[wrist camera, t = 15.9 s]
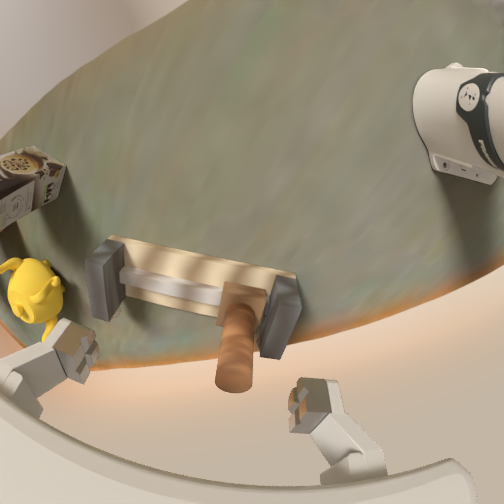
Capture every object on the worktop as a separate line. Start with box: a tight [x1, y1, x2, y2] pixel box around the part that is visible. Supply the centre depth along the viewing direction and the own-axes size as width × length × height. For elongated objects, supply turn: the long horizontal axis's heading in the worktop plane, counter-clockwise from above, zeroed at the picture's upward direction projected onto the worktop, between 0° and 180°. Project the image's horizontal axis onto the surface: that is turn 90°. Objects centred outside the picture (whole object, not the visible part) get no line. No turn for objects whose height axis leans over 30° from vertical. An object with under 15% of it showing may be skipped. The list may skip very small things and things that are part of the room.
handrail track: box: [84, 235, 302, 360], centre depth 38 cm, size 30×11×8 cm, turn 78°
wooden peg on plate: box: [215, 281, 266, 393], centre depth 34 cm, size 6×6×16 cm
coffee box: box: [0, 146, 66, 230], centre depth 26 cm, size 9×6×16 cm
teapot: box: [0, 257, 65, 343], centre depth 38 cm, size 20×15×12 cm
